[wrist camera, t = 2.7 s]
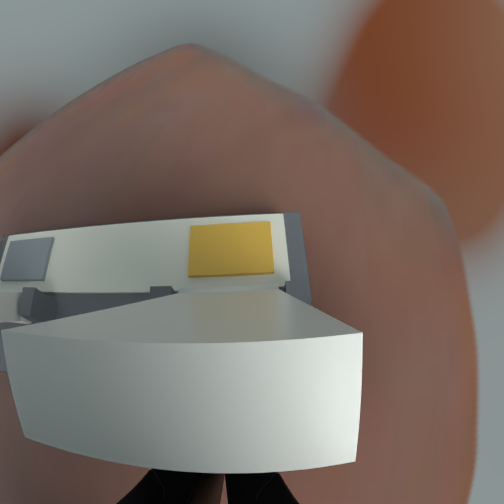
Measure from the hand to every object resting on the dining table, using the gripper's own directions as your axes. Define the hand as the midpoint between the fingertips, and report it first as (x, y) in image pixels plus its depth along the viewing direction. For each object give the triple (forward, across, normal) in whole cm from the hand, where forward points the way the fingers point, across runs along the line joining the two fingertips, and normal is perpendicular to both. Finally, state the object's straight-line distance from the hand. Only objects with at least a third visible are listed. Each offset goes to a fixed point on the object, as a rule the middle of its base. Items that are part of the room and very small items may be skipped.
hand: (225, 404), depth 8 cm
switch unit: (+9, +7, +3) cm, 12 cm away
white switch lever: (+6, 0, 0) cm, 6 cm away
